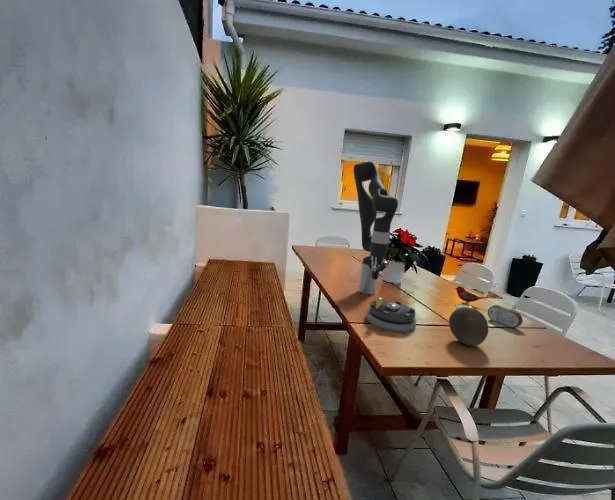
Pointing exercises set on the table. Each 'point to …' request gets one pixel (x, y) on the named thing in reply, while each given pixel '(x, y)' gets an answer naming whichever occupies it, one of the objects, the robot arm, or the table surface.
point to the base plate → (390, 324)
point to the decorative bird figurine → (467, 295)
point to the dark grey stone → (468, 326)
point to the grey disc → (392, 311)
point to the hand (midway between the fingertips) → (374, 279)
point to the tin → (505, 316)
